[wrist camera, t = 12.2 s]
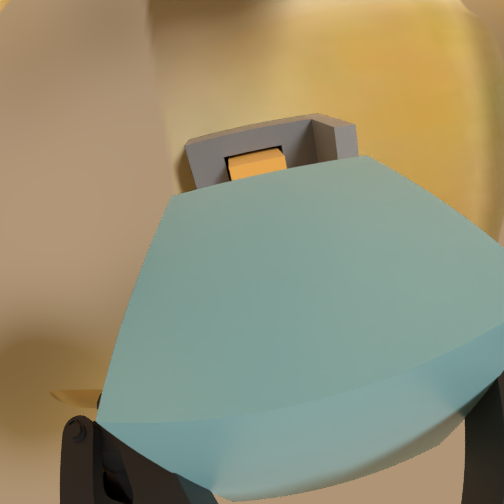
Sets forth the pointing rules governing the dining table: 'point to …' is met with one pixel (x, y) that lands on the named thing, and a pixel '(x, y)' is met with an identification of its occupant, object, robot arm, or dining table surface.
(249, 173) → the tagged button
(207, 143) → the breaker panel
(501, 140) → the dining table surface
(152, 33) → the dining table surface
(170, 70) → the dining table surface
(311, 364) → the cover
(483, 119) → the dining table surface
